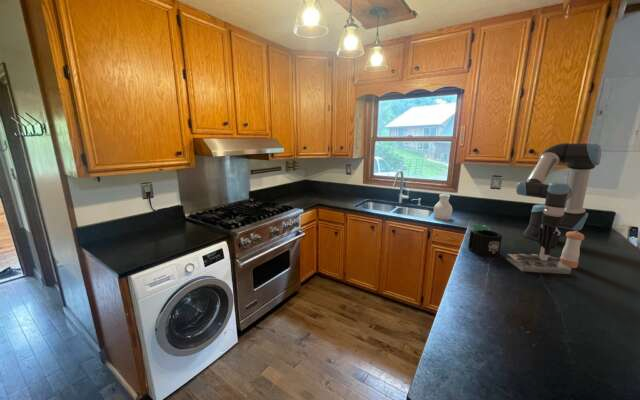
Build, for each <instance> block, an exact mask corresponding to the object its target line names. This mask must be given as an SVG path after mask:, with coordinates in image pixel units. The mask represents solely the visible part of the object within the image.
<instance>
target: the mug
mask: <svg viewBox="0 0 640 400" xmlns="http://www.w3.org/2000/svg"><path fill="white" fill-rule="evenodd" d="M471 228H472V231H477V230H489V231H491V228H490V227H488V226H487V225H485V224H483V225H479V224H475V225H472V227H471Z"/></svg>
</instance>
